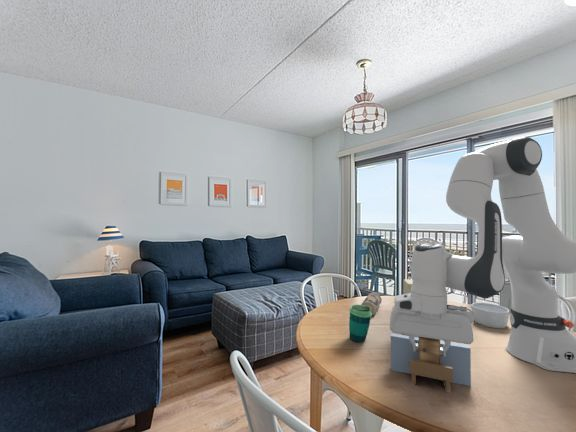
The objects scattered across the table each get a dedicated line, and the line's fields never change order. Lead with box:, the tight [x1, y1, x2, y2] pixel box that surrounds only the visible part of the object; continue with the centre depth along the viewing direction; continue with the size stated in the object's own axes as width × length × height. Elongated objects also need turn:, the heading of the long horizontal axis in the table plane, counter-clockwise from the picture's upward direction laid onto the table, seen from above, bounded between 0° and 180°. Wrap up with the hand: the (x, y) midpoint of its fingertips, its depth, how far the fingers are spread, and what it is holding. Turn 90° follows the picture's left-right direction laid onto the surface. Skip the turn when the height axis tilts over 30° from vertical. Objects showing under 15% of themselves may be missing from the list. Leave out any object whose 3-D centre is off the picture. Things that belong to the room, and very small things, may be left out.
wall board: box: [390, 332, 472, 393], centre depth 74 cm, size 20×8×10 cm, turn 67°
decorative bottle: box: [360, 292, 382, 316], centre depth 129 cm, size 26×8×7 cm, turn 152°
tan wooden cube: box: [419, 337, 441, 365], centre depth 73 cm, size 5×4×7 cm
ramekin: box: [470, 302, 510, 329], centre depth 115 cm, size 13×13×7 cm
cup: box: [348, 304, 373, 344], centre depth 99 cm, size 8×8×12 cm
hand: (428, 353), depth 74 cm, fingers closed on tan wooden cube, 5 cm apart
